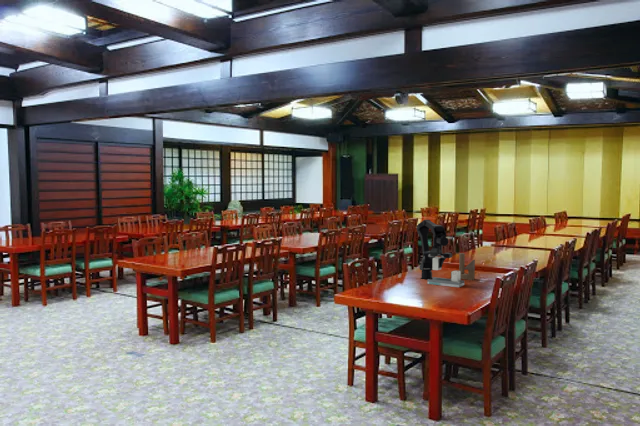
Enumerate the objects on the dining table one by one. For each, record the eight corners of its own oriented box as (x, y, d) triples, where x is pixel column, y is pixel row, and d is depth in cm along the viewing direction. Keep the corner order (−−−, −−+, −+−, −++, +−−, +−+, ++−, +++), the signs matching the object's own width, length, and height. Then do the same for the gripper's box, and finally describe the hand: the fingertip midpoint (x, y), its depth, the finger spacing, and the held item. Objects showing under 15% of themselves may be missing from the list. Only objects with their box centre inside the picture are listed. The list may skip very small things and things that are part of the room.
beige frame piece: (472, 280, 365) (473, 254, 364) (458, 278, 371) (458, 253, 370) (474, 279, 368) (475, 254, 367) (460, 277, 374) (460, 252, 373)
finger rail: (427, 283, 353) (427, 269, 353) (433, 281, 362) (433, 267, 361) (459, 287, 341) (459, 272, 340) (464, 284, 349) (464, 270, 348)
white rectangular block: (435, 268, 358) (436, 256, 357) (442, 269, 355) (442, 257, 355) (432, 269, 353) (432, 258, 352) (438, 270, 350) (438, 258, 350)
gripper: (419, 244, 352) (419, 267, 353) (446, 246, 341) (446, 270, 342) (426, 242, 361) (426, 265, 362) (452, 244, 350) (452, 267, 351)
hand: (437, 267), depth 354 cm, fingers closed on white rectangular block, 4 cm apart
